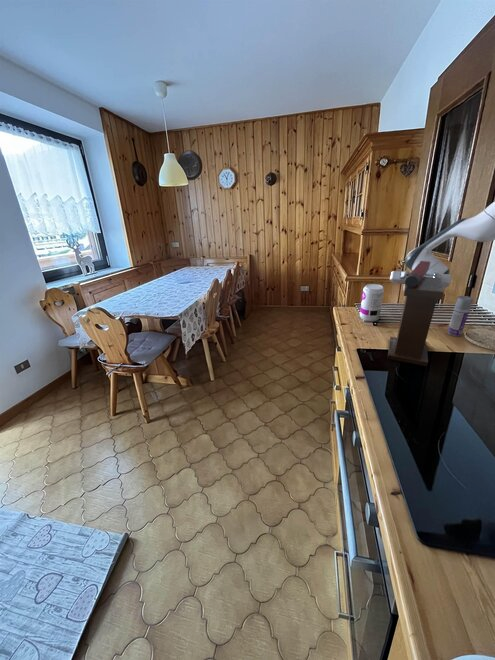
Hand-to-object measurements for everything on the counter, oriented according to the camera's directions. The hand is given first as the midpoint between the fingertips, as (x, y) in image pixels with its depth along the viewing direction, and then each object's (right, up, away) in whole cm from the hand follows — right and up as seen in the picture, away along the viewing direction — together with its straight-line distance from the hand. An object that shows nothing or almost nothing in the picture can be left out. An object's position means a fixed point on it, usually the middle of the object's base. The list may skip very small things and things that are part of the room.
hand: (421, 273), depth 103 cm
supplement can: (-9, -15, +25) cm, 30 cm away
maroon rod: (-7, -3, -9) cm, 11 cm away
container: (+18, -22, +8) cm, 30 cm away
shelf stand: (-6, -29, -1) cm, 29 cm away
